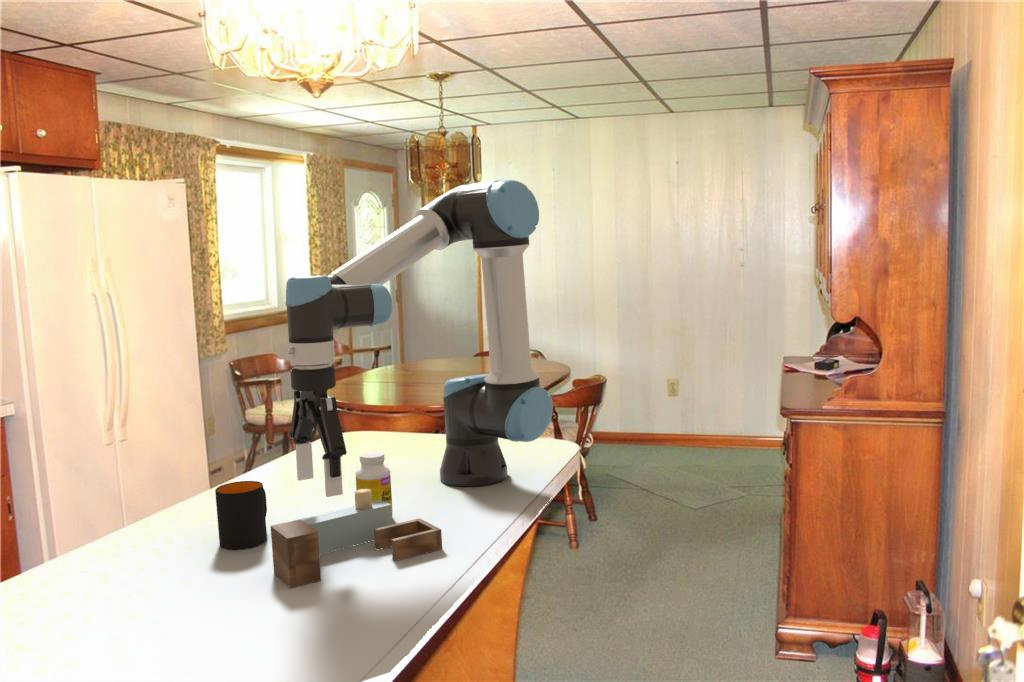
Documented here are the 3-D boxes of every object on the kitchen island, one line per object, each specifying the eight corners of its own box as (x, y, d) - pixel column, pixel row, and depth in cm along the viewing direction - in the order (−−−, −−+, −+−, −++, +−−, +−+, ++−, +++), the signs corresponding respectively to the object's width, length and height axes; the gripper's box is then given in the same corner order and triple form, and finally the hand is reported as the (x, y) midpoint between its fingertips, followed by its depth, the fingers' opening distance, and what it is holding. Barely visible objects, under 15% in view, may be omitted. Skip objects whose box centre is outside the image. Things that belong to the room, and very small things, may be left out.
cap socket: (303, 565, 146) (300, 519, 145) (321, 580, 139) (317, 531, 138) (274, 573, 143) (270, 525, 142) (290, 588, 137) (287, 538, 136)
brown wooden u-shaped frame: (420, 537, 158) (419, 518, 158) (442, 549, 151) (441, 529, 151) (375, 548, 153) (373, 528, 153) (395, 561, 146) (393, 540, 146)
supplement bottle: (386, 525, 165) (382, 459, 164) (353, 524, 167) (348, 458, 165) (397, 514, 172) (393, 450, 170) (365, 513, 173) (361, 450, 172)
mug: (286, 529, 165) (282, 476, 164) (250, 551, 154) (245, 494, 153) (248, 527, 168) (244, 474, 167) (210, 548, 156) (205, 492, 155)
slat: (382, 531, 163) (379, 484, 162) (393, 536, 160) (390, 488, 159) (285, 556, 151) (281, 506, 150) (295, 562, 148) (291, 511, 147)
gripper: (267, 361, 158) (274, 476, 161) (318, 375, 138) (325, 507, 140) (307, 357, 163) (314, 469, 165) (362, 370, 142) (368, 498, 144)
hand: (319, 487), depth 152 cm, fingers open, 13 cm apart
